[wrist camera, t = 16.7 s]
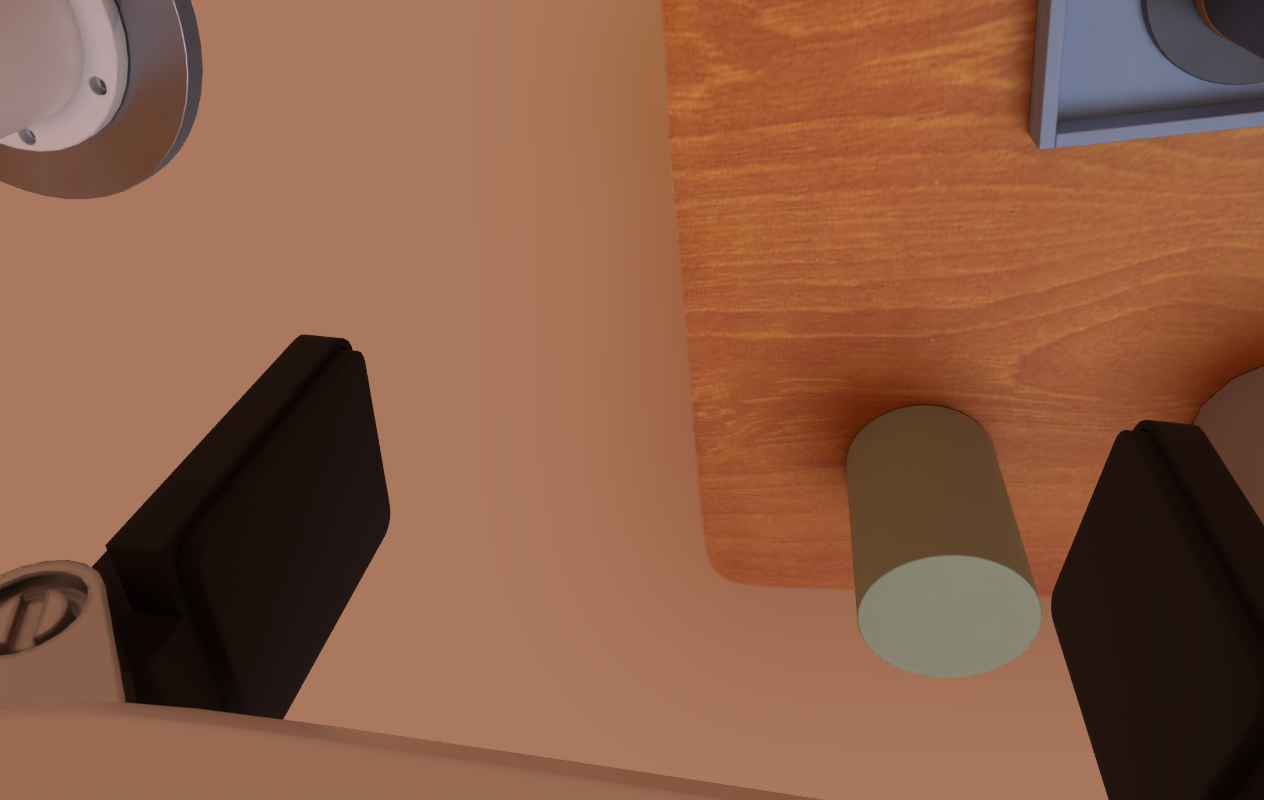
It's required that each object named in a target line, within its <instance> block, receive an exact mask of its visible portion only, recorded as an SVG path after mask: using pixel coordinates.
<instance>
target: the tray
mask: <svg viewBox="0 0 1264 800" xmlns="http://www.w3.org/2000/svg"><path fill="white" fill-rule="evenodd" d="M1257 126H1264V82H1261V83H1254V84H1246V85H1225V84H1217V83H1211V82H1208V81H1204V80H1200V79H1198V78H1195V77H1193V76H1191V75H1189V74H1187V73H1185V72H1183V71H1182V70H1180V69H1179V68H1177V67H1176V66H1174V65H1173V64H1172V63H1170V62H1169V61H1168V60H1167V59H1166V58H1165V57H1164V56H1163V55H1162V54H1161V53H1160V51H1159V50H1158V49H1157V48H1156V46H1155V45H1154V43H1153V41H1152V40H1151V38H1150V36H1149V34H1148V32H1147V29H1146V26H1145V22H1144V19H1143V14H1142V7H1141V0H1038V12H1037V26H1036V40H1035V53H1034V67H1033V81H1032V95H1031V108H1030V122H1029V136H1030V137H1031V138H1032V140H1033V141H1034V143H1035V144H1036V146H1037V147H1038V149H1039V150H1044V149H1053V148H1054V147H1055V148H1062V147H1071V146H1081V145H1090V144H1099V143H1108V142H1118V141H1127V140H1136V139H1146V138H1155V137H1164V136H1173V135H1183V134H1192V133H1201V132H1210V131H1220V130H1229V129H1238V128H1247V127H1257Z"/></svg>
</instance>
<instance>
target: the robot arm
mask: <svg viewBox="0 0 1264 800" xmlns="http://www.w3.org/2000/svg"><path fill="white" fill-rule="evenodd" d="M127 72H128V55H127V46H126V37H125V33H124V29H123V26H122V22H121V19H120V15H119V12H118V8H117V6H116V4H115V1H114V0H0V144H4V145H7V146H10V147H13V148H16V149H23V150H30V151H38V152H42V151H55V150H62V149H65V148H68V147H71V146H74V145H77V144H79V143H81V142H83V141H85V140H87V139H89V138H91V137H92V136H94V135H96V134H97V133H99V132H100V131H101V130H102V129H103V128H104V127H105V126H106V125H107V124H108V123H110V121H111V120H112V118H113V117H114V115H115V113H116V112H117V110H118V108H119V107H120V105H121V102H122V98H123V95H124V92H125V89H126V85H127ZM389 520H390V504H389V498H388V492H387V486H386V481H385V475H384V469H383V463H382V457H381V452H380V445H379V440H378V434H377V428H376V422H375V416H374V411H373V405H372V399H371V393H370V387H369V382H368V375H367V370H366V364H365V360H364V357H363V355H362V353H361V352H359V351H353V350H352V347H351V345H350V343H349V341H347V340H346V339H344V338H334V337H323V336H314V335H300V336H299V337H297V338H296V339H295V340H294V341H293V342H292V343H291V344H290V345H289V346H288V347H287V348H286V350H285V351H284V352H283V353H282V354H281V355H280V356H279V357H278V358H277V359H276V361H275V362H274V363H273V364H272V365H271V366H270V367H269V368H268V369H267V370H266V371H265V372H264V373H263V375H262V376H261V377H260V378H259V379H258V380H257V381H256V382H255V383H254V384H253V385H252V387H251V388H250V389H249V390H248V391H247V392H246V393H245V394H244V395H243V396H242V398H241V399H240V400H239V401H238V402H237V403H236V404H235V405H234V406H233V407H232V408H231V410H229V412H228V413H227V414H226V415H225V416H224V417H223V418H222V419H221V420H220V421H219V422H218V424H217V425H216V426H215V427H214V428H213V429H212V430H211V431H210V432H209V433H208V434H207V435H206V437H205V438H204V439H203V440H202V441H201V442H200V443H199V444H198V445H197V446H196V447H195V449H194V450H193V451H192V452H191V453H190V454H189V455H188V456H187V457H186V458H185V459H184V460H183V462H182V463H181V464H180V465H179V466H178V467H177V468H176V469H175V470H174V471H173V472H172V474H171V475H170V476H169V477H168V478H167V479H166V480H165V481H164V482H163V483H162V485H161V486H160V487H159V488H158V489H157V490H156V491H155V492H154V493H153V494H152V495H151V496H150V497H149V499H148V500H147V501H146V502H145V503H144V504H143V505H142V506H141V507H140V508H139V509H138V510H137V512H136V513H135V514H134V515H133V516H132V517H131V518H130V519H129V520H128V521H127V522H126V524H125V525H124V526H123V527H122V528H121V529H120V530H119V532H117V533H116V534H115V536H114V537H113V538H112V539H111V540H110V541H109V542H108V543H107V544H106V545H105V546H106V548H107V551H106V552H105V553H104V555H103V556H102V557H101V558H100V559H99V560H98V561H97V562H96V563H95V564H94V565H93V566H92V568H91V567H90V566H88V565H87V564H84V563H79V562H75V561H69V560H57V561H43V562H39V563H35V564H30V565H26V566H21V567H19V568H16V569H14V570H11V571H9V572H6V573H4V574H1V575H0V800H821V799H814V798H808V797H802V796H794V795H788V794H782V793H776V792H769V791H762V790H756V789H749V788H743V787H736V786H729V785H723V784H716V783H710V782H703V781H697V780H690V779H684V778H678V777H670V776H664V775H658V774H651V773H644V772H638V771H631V770H624V769H618V768H612V767H605V766H598V765H592V764H585V763H578V762H572V761H565V760H558V759H552V758H545V757H539V756H532V755H525V754H518V753H511V752H505V751H498V750H491V749H484V748H477V747H471V746H464V745H456V744H450V743H443V742H436V741H429V740H423V739H416V738H409V737H402V736H395V735H389V734H382V733H375V732H368V731H362V730H354V729H348V728H341V727H334V726H327V725H320V724H312V723H304V722H296V721H289V720H283V719H284V717H285V715H286V713H287V711H288V710H289V708H290V706H291V704H292V702H293V700H294V699H295V697H296V695H297V693H298V692H299V690H300V688H301V686H302V684H303V683H304V681H305V679H306V677H307V675H308V674H309V672H310V670H311V668H312V666H313V665H314V663H315V661H316V659H317V657H318V656H319V654H320V652H321V650H322V648H323V646H324V645H325V643H326V641H327V639H328V638H329V636H330V634H331V632H332V630H333V629H334V627H335V625H336V623H337V621H338V619H339V617H340V616H341V614H342V612H343V610H344V609H345V607H346V605H347V603H348V602H349V600H350V598H351V596H352V594H353V592H354V591H355V589H356V587H357V585H358V583H359V582H360V580H361V578H362V576H363V574H364V572H365V571H366V569H367V567H368V565H369V564H370V562H371V560H372V558H373V556H374V554H375V553H376V551H377V549H378V547H379V545H380V544H381V542H382V540H383V538H384V537H385V534H386V532H387V529H388V526H389ZM1051 601H1052V602H1051V612H1052V618H1053V622H1054V626H1055V628H1056V632H1057V635H1058V638H1059V642H1060V645H1061V648H1062V651H1063V654H1064V658H1065V661H1066V664H1067V667H1068V670H1069V674H1070V677H1071V680H1072V683H1073V686H1074V690H1075V693H1076V696H1077V699H1078V703H1079V706H1080V709H1081V712H1082V715H1083V719H1084V722H1085V725H1086V728H1087V732H1088V735H1089V738H1090V741H1091V744H1092V747H1093V751H1094V754H1095V757H1096V760H1097V764H1098V767H1099V770H1100V773H1101V776H1102V780H1103V783H1104V786H1105V789H1106V793H1107V796H1108V799H1109V800H1264V525H1263V523H1262V522H1261V520H1260V518H1259V517H1258V515H1257V514H1256V512H1255V511H1254V509H1253V507H1252V506H1251V504H1250V503H1249V501H1248V500H1247V498H1246V497H1245V495H1244V493H1243V492H1242V490H1241V489H1240V487H1239V486H1238V484H1237V482H1236V481H1235V479H1234V478H1233V476H1232V475H1231V473H1230V472H1229V470H1228V468H1227V467H1226V465H1225V464H1224V462H1223V461H1222V459H1221V458H1220V456H1219V454H1218V453H1217V451H1216V450H1215V448H1214V447H1213V445H1212V443H1211V442H1210V440H1209V439H1208V437H1207V436H1206V434H1205V433H1204V431H1203V430H1202V429H1201V428H1200V427H1199V426H1196V425H1192V424H1182V423H1172V422H1162V421H1152V420H1143V421H1140V422H1139V423H1138V424H1137V425H1136V426H1135V428H1134V429H1133V431H1130V430H1124V431H1121V432H1120V433H1119V434H1118V436H1117V438H1116V440H1115V442H1114V444H1113V447H1112V449H1111V451H1110V454H1109V456H1108V459H1107V461H1106V463H1105V466H1104V468H1103V471H1102V473H1101V476H1100V478H1099V480H1098V483H1097V485H1096V488H1095V490H1094V493H1093V495H1092V497H1091V500H1090V502H1089V505H1088V507H1087V510H1086V512H1085V514H1084V517H1083V519H1082V522H1081V524H1080V526H1079V529H1078V531H1077V534H1076V536H1075V539H1074V541H1073V543H1072V546H1071V548H1070V551H1069V553H1068V556H1067V558H1066V560H1065V563H1064V565H1063V568H1062V570H1061V572H1060V575H1059V577H1058V580H1057V582H1056V585H1055V587H1054V590H1053V594H1052V600H1051Z"/></svg>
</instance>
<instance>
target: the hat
mask: <svg viewBox="0 0 1264 800" xmlns="http://www.w3.org/2000/svg"><path fill="white" fill-rule="evenodd" d="M1141 7H1142V14H1143V19H1144V22H1145V26H1146V29H1147V32H1148V34H1149V36H1150V38H1151V40H1152V41H1153V43H1154V45H1155V46H1156V48H1157V49H1158V50H1159V51H1160V53H1161V54H1162V55H1163V56H1164V57H1165V58H1166V59H1167V60H1168V61H1169V62H1170V63H1172V64H1173V65H1174V66H1176V67H1177V68H1179V69H1180V70H1182V71H1183V72H1185V73H1187V74H1189V75H1191V76H1193V77H1195V78H1198V79H1200V80H1204V81H1208V82H1211V83H1217V84H1225V85H1246V84H1254V83H1261V82H1264V0H1141Z"/></svg>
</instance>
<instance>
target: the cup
mask: <svg viewBox="0 0 1264 800" xmlns="http://www.w3.org/2000/svg"><path fill="white" fill-rule="evenodd" d="M1193 425H1196V426H1199V427H1200V428H1201V429H1202V430H1203V431H1204V433H1205V434H1206V436H1207V437H1208V439H1209V440H1210V442H1211V443H1212V445H1213V447H1214V448H1215V450H1216V451H1217V453H1218V454H1219V456H1220V458H1221V459H1222V461H1223V462H1224V464H1225V465H1226V467H1227V468H1228V470H1229V472H1230V473H1231V475H1232V476H1233V478H1234V479H1235V481H1236V482H1237V484H1238V486H1239V487H1240V489H1241V490H1242V492H1243V493H1244V495H1245V497H1246V498H1247V500H1248V501H1249V503H1250V504H1251V506H1252V507H1253V509H1254V511H1255V512H1256V514H1257V515H1258V517H1259V518H1260V520H1261V522H1262V523H1263V525H1264V366H1262V367H1260V368H1257V369H1255V370H1253V371H1250V372H1248V373H1245V374H1243V375H1241V376H1238V377H1236V378H1233V379H1232V380H1231V381H1230V382H1229V383H1227V384H1226V385H1225V386H1224V387H1223V388H1222V389H1221V390H1219V391H1218V392H1217V393H1216V394H1215V395H1214V396H1213V397H1211V398H1210V399H1209V400H1208V401H1207V402H1206V403H1205V404H1203V405H1202V406H1201V408H1200V410H1199V412H1198V415H1197V417H1196V419H1195V421H1194V423H1193Z"/></svg>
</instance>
